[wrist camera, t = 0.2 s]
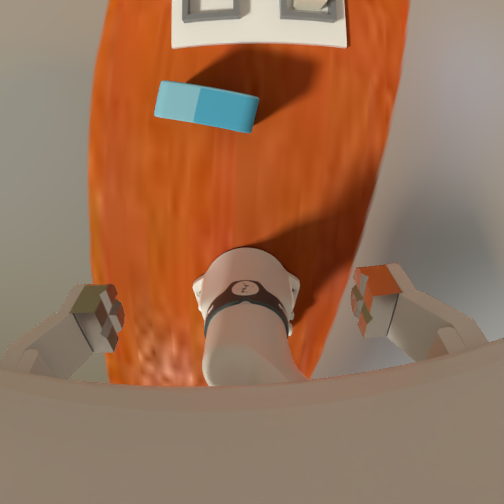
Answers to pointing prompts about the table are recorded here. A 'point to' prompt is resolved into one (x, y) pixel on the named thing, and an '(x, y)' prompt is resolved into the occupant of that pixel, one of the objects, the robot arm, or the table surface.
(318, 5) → the plug block
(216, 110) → the data package
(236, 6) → the dock
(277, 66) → the table surface
